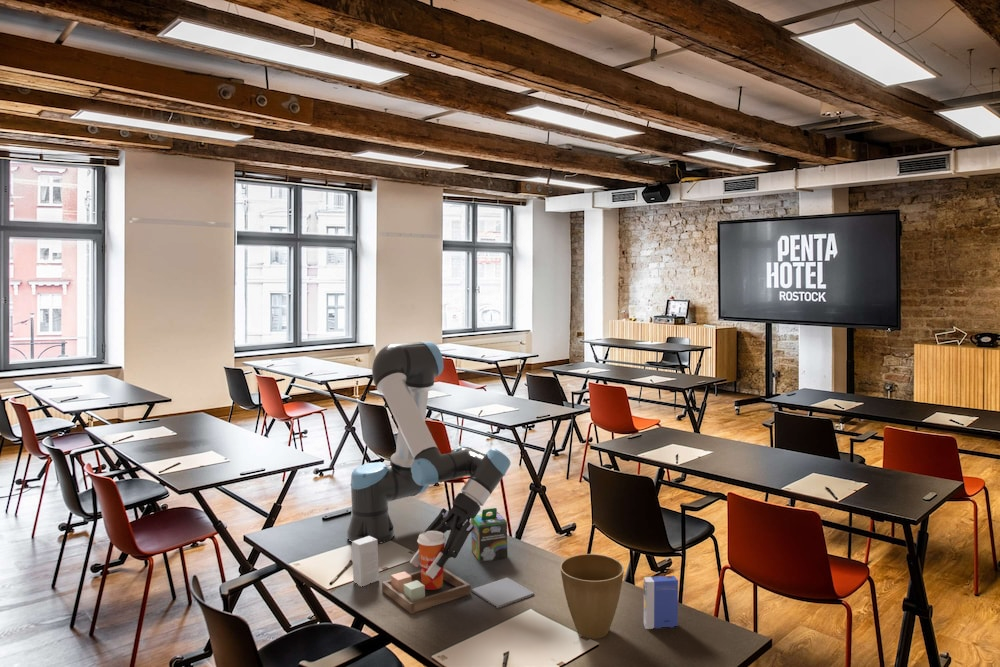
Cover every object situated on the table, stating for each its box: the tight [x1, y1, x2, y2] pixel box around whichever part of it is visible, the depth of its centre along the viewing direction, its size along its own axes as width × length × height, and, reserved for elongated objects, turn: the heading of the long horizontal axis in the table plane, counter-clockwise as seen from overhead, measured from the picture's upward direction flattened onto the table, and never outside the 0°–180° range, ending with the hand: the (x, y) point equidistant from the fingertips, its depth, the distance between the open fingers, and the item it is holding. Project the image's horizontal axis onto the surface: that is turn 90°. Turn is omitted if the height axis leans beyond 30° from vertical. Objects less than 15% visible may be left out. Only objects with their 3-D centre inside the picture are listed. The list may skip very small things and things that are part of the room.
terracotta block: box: [390, 570, 412, 595], centre depth 186 cm, size 4×4×5 cm
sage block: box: [404, 580, 426, 602], centre depth 180 cm, size 4×4×5 cm
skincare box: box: [351, 536, 380, 588], centre depth 193 cm, size 6×4×12 cm
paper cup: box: [416, 531, 447, 591], centre depth 187 cm, size 8×8×14 cm
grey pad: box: [470, 577, 535, 609], centre depth 185 cm, size 12×12×1 cm
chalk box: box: [470, 507, 509, 563], centre depth 210 cm, size 9×9×15 cm
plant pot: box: [559, 553, 625, 640], centre depth 164 cm, size 15×15×16 cm
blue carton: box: [642, 574, 679, 630], centre depth 167 cm, size 8×3×12 cm, turn 96°
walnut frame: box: [381, 568, 471, 615], centre depth 186 cm, size 16×18×2 cm
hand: (421, 570), depth 185 cm, fingers closed on paper cup, 8 cm apart
